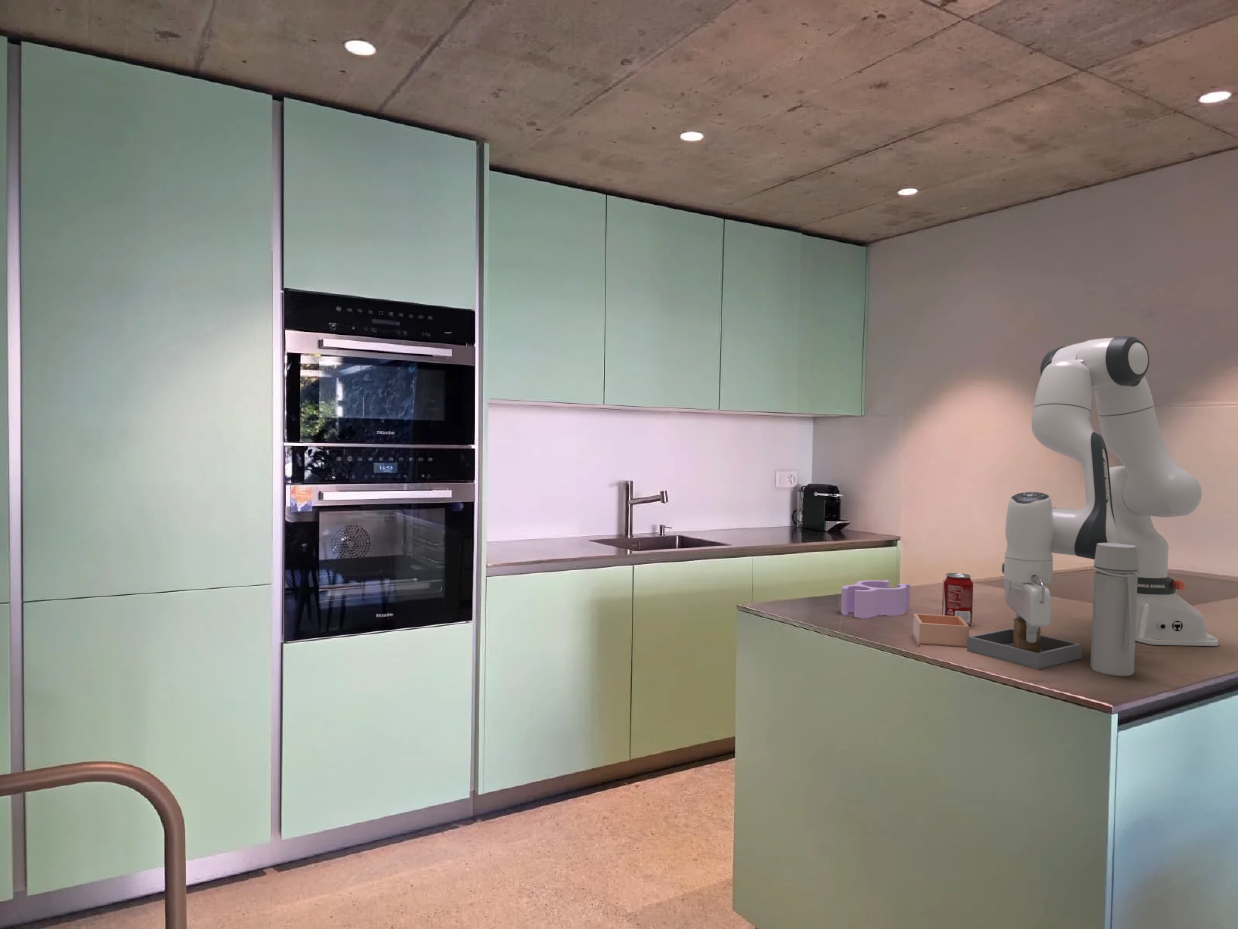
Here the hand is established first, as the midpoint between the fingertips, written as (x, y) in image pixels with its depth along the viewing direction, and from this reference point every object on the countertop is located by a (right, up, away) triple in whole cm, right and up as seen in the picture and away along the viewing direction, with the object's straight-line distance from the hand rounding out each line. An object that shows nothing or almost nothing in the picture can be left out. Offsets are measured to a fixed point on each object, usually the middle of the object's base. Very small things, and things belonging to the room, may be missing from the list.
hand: (1026, 638), depth 167 cm
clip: (-18, -3, +42) cm, 46 cm away
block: (0, -2, 0) cm, 2 cm away
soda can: (-2, -3, +29) cm, 30 cm away
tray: (-1, -4, 0) cm, 4 cm away
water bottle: (+11, -5, -12) cm, 17 cm away
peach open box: (-13, -3, +11) cm, 18 cm away
